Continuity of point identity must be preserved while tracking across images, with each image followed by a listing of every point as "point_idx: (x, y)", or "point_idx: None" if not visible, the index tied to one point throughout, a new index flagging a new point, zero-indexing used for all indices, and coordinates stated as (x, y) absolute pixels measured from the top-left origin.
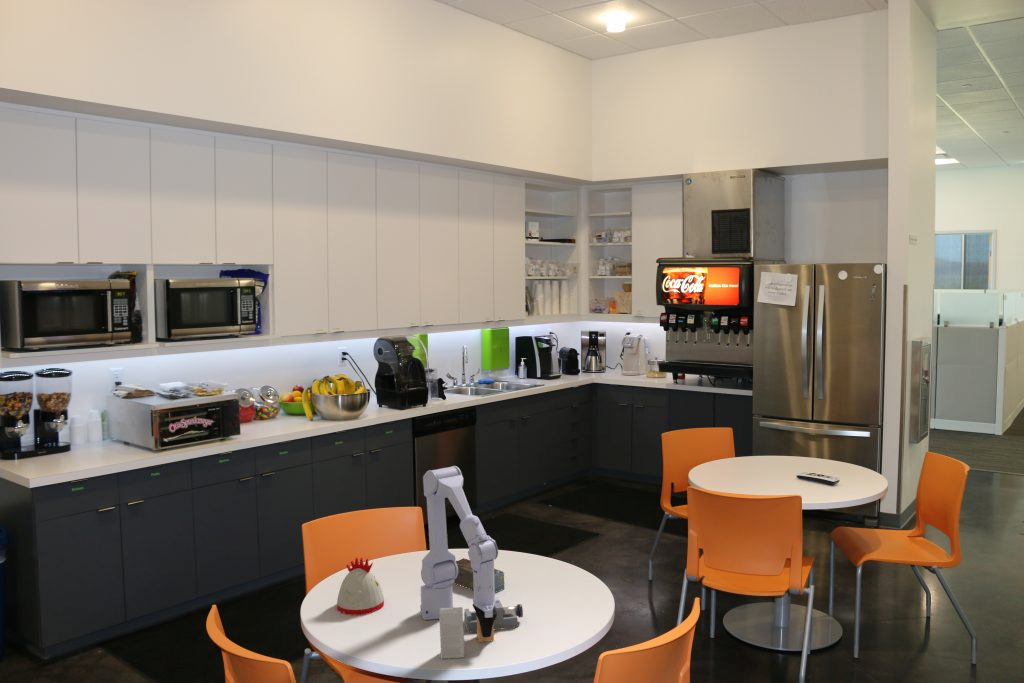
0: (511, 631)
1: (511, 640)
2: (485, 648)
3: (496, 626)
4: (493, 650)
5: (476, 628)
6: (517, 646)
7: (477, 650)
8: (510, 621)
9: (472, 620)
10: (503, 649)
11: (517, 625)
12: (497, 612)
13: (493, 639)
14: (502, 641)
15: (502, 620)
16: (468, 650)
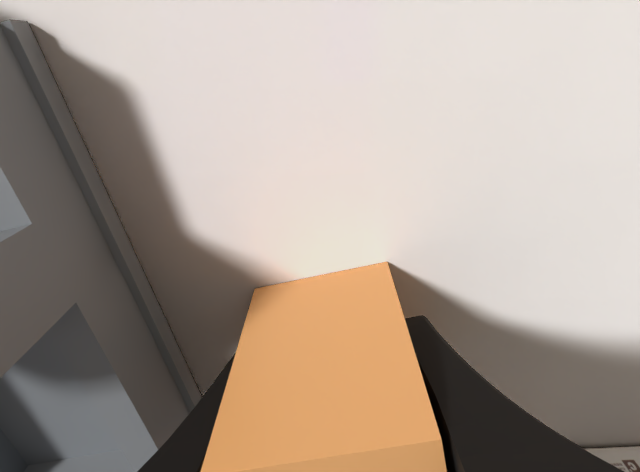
0: (159, 96)
1: (397, 86)
2: (539, 318)
3: (113, 263)
4: (599, 253)
5: (187, 414)
6: (570, 3)
7: (562, 370)
8: (11, 121)
9: (26, 445)
10: (604, 163)
11: (12, 22)
12: (2, 349)
13: (389, 269)
14: (413, 182)
15: (46, 227)
16: (545, 423)
